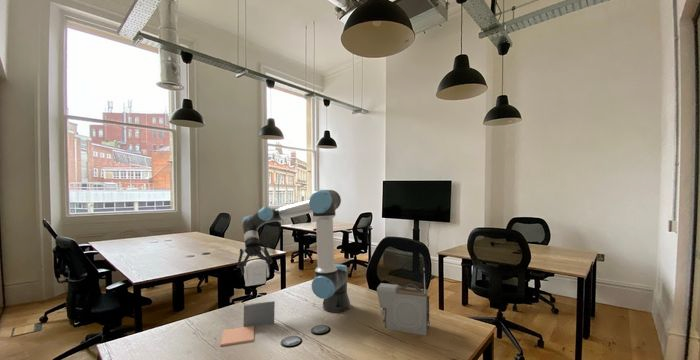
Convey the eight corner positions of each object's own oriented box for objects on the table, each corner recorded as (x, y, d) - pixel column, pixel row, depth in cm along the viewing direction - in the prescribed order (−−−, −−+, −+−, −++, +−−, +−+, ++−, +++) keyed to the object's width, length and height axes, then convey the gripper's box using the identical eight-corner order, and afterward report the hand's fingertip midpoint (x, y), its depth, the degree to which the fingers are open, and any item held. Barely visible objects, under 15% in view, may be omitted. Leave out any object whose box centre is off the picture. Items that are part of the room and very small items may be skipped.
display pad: (253, 327, 134) (253, 325, 134) (253, 341, 122) (253, 339, 122) (223, 331, 130) (223, 329, 130) (220, 346, 118) (220, 344, 118)
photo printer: (264, 281, 150) (265, 257, 150) (267, 283, 146) (267, 259, 147) (244, 284, 144) (244, 260, 145) (246, 287, 141) (246, 262, 141)
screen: (274, 322, 140) (274, 301, 140) (274, 323, 138) (274, 302, 139) (243, 326, 135) (243, 304, 136) (243, 327, 134) (243, 305, 134)
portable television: (381, 318, 145) (381, 258, 146) (430, 325, 137) (429, 262, 138) (375, 328, 133) (375, 263, 135) (428, 337, 125) (427, 268, 127)
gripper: (271, 243, 165) (278, 278, 151) (228, 246, 154) (232, 284, 139) (274, 235, 160) (281, 270, 146) (230, 238, 149) (233, 276, 135)
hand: (257, 277), depth 143 cm, fingers closed on photo printer, 10 cm apart
